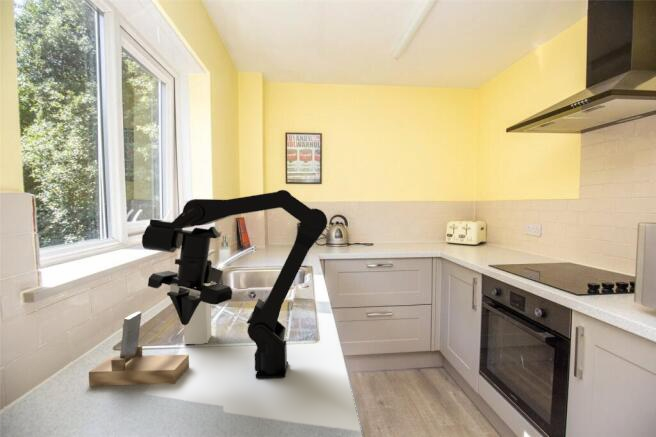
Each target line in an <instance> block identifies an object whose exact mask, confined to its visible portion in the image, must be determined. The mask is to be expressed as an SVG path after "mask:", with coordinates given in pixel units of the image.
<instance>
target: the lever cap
mask: <svg viewBox="0 0 656 437" xmlns="http://www.w3.org/2000/svg"><path fill="white" fill-rule="evenodd" d="M141 322H142V312H141V311H136V312H134V313H132V314H130V315H129V316H127V317H125V318H124V319H123V323H122V336H121V347H120V354H119V356H120V358H125V364H126V363H127V362H128V361H130V360H131V359H132V358H133V357H135V356H136V355H137V348H138V346H139V338H140V330H141Z"/></svg>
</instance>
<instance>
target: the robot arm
mask: <svg viewBox="0 0 656 437" xmlns="http://www.w3.org/2000/svg"><path fill="white" fill-rule="evenodd" d="M274 209H283V210H284V212H286V213H288V214H289V215H290V216H292V217H293V218H295V219H296V220H298V221H299V226H298V230H297V232H296V233H297V234H296V237H295V240H294V243H293V244H292V247H291V249H290V251H289V253H288V256H287V258H286V259H285V261H284V263H283V266H282V267H281V269H280V272H279V273H278V276H277V278H276V280H275V282H274V284H273V286H272V288H271V290H270V293H269V294H268V296H267V297H266V298H265V299H264V300H263V299H260V298H258V300H257V301H256V303H255V305H254V308H253V311H252V312H251V313H250V315H249V317H248V318H247V321H246V324H248V327H247V335H248V337H249V339H250V340H251V341H252V342H254V343H255V346H256V349H255V352H254V371H255V378H256V379H267V378H269V379H271V378H272V379H275V378H276V379H278V378H285V377H286V375H287V369H288V366H289V361H288V355H287V351H288V350H287V348H288V346H287V340H285V335H286V329H287V328H286V327H285V326H284V325H283V324H282V323H281V322H280V321H278V320H279V317H280V313H281V311H282V310H281V309H282V305H283V304H284V301H285V300H286V297H287V296H288V294H289V291H290V290H291V287H292V285H293V283H294V281H295V279H296V277H297V275H298V273H299V271H300V269H301V267H302V265H303V263H304V261H305V258H306V257H307V254H308V253H309V251H310V249H311V248H312V246H314V244H315V243H317V241H318V239H319V238H320V236H322V234H323V233H324V231H325V230H326V228H327V225H328V218H327V215H326V213H325V212H324V211H322V210H321V209H318V208H311V207H309V206H307V205H306V204H304V203H303V202H302V201H300V200H299V199H298V198H296V197H295V196H293V195H292V194H291V193H290V191H288V190H285V189H279V190H277V191H273V192H267V193H261V194H255V195H247V196H242V197H235V198H229V199H213V198H209V199H208V198H202V199H201V198H193V199H190V200H188V201H187V202H186V203H185V205H184V206H183V208H182V212H181V213H180V214H179V215H178V216H177V217H176V218H175V219H174V220H173V221H166V220H163V219H159V218H151V219H150V220H149V224H148V225H147V226H146V228H145V230H144V233H143V234H142V236H141V243H142V244H141V246H142V247H143V249H145V250H149V251H158V252H166V253H175V252H176V250H177V249H180V256H179V258H175V260H174V264H175V265H178V270H177V272H174V271H171V270H165V271H159V272H152V274H151V275H150V276H149V277H148V282H147V287H150V288H153V289H159V288H161V287H162V286H163V284H164V285H167V286H169V287H170V289H169V292H166V295H167V296H168V297H169V298H170V301H171V302H172V305H173V306H174V308H175V310H176V313H177V315H178V319H179V321H180V324H181V325H183V326H184V325H187V324H188V323H189V321H190V319H191V317H192V315H193V314H194V312H195V310H196V308H197V306H198V305H199V303H200V302H201V301H202V302H205V303H209V304H211V306H212V305H219V304H222V303H224V302H227V301H230V300H232V299H233V298H232V297H233V290H232V289H233V288H231V286H228V285H225V284H221V283H220V282H221V279H222V277H223V274H224V271H223V270H221V269H218V268H216V267H213V266H212V264H213V262H212V260H210V259H209V253H210V246H211V239H217V238H220V237H221V233H219V231H218V230H217V228H216V227H215V226H214V225H213V226H210V227H209V228H202V227H201V228H200V227H197V226H206V225H210V224H214V223H217V222H219V221H222V220H224V219H227V218H229V217H233V216H238V215H244V214H249V213H256V212H263V211H268V210H274ZM193 227H194V228H193ZM186 228H187V229H188V228H193V229H192V230H187V229H186ZM185 229H186V230H185ZM212 282H214V284H212ZM205 283H207V284H208V283H210V286H205V285H204V284H205ZM194 287H196V288H194Z"/></svg>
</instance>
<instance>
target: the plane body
mask: <svg viewBox="0 0 656 437" xmlns="http://www.w3.org/2000/svg"><path fill="white" fill-rule="evenodd" d="M189 355H190V354H160V355H156V354H155V355H153V354H152V355H143V345H138V348H137V355H136V356H135V357H133V358H132V359H131V360H130V361H128V362H127V363H126V364H125V358H120V355H111V356H109V357H108V358H107V359H105V360H104V361H102V362H101V363H100V364H97V365H96V366H95V367H93V368H92V369H91V370H89V371H88V386H90V387H91V386H96V387H97V386H134V385H135V386H136V385H137V386H138V385H145V386H147V385H175V384H176V383H177V382H178V381H179V380H180V379H181V377H183V375H184V374H185V373H186V371H187V370H188V369H189V368H190V356H189Z"/></svg>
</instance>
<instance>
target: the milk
mask: <svg viewBox="0 0 656 437" xmlns="http://www.w3.org/2000/svg"><path fill="white" fill-rule="evenodd" d="M204 285H205V286H210V285H211V283H208V284H207V283H205V284H204ZM194 288H196V287H194ZM211 337H212V304H209V303H205V302H202V301H201V302H200V303H199V305H198V306H197V308H196V310H195V312H194V314H193V315H192V317H191V319H190V321H189V323H188V324H187V325H183V338H184V339H183V341H184V343H183V344H184V346H187V345H186V344H195V345H205V344H204V343H207V344H208V343H209V340H210V338H211Z"/></svg>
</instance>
